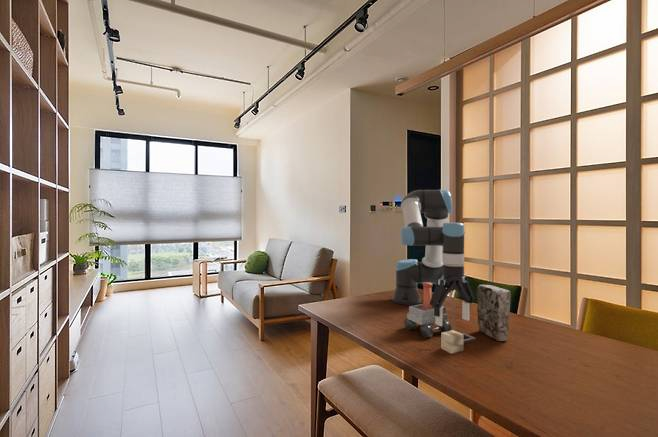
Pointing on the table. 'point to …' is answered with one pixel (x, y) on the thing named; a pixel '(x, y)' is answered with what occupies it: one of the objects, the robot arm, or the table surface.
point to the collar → (468, 338)
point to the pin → (427, 295)
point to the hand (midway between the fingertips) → (452, 322)
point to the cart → (425, 320)
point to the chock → (452, 341)
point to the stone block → (493, 311)
